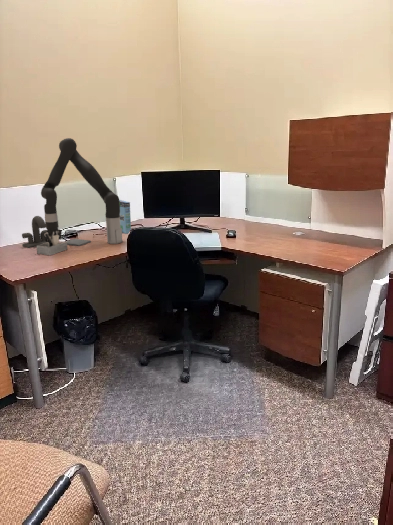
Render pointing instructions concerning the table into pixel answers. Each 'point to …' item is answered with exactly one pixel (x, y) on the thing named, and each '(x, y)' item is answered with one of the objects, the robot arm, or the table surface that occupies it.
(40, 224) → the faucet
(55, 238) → the block
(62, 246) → the grey box
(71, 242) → the mat
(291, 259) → the table surface
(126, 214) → the gum box
